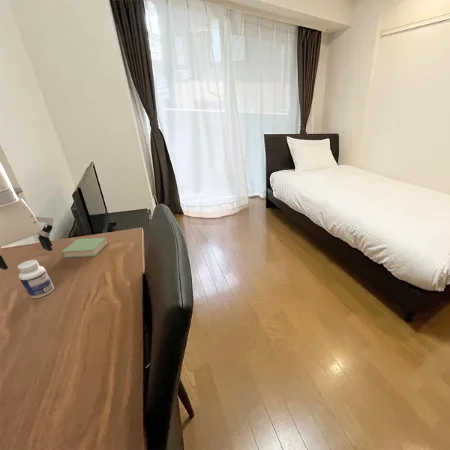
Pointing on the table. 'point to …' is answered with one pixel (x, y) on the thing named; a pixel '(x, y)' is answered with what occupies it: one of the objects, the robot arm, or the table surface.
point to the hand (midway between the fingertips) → (27, 258)
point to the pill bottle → (35, 279)
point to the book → (85, 247)
